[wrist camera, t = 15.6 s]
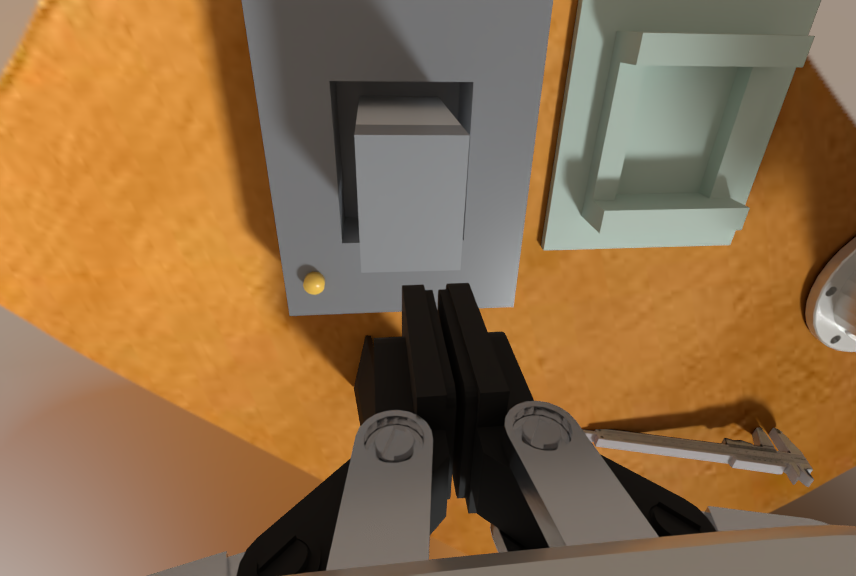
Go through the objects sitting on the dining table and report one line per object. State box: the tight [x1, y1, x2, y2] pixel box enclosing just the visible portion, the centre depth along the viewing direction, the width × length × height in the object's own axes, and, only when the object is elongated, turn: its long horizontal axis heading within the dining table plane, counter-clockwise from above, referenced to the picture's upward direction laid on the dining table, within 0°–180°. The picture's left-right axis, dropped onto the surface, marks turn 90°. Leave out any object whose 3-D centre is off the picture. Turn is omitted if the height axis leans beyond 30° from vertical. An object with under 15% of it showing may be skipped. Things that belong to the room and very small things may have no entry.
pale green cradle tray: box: [541, 0, 821, 250], centre depth 29 cm, size 14×16×4 cm
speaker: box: [354, 336, 375, 426], centre depth 34 cm, size 8×6×10 cm
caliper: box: [583, 428, 814, 487], centre depth 43 cm, size 20×1×6 cm, turn 85°
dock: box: [242, 0, 553, 316], centre depth 27 cm, size 14×18×5 cm
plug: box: [354, 96, 470, 273], centre depth 24 cm, size 4×6×10 cm
